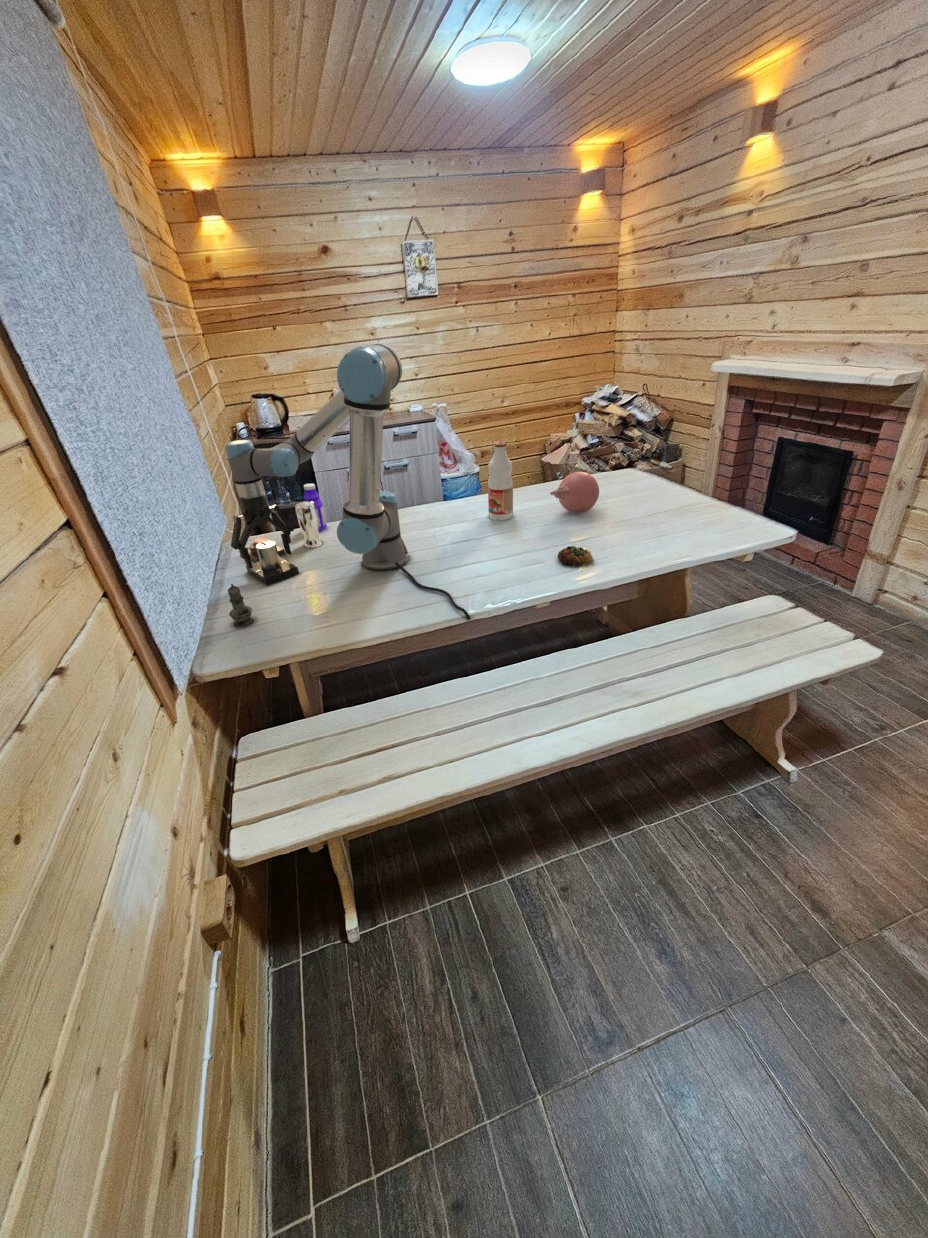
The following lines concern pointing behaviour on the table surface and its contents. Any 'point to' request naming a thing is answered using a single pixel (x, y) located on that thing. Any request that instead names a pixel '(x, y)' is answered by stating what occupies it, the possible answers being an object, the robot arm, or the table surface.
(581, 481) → the balloon
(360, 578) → the table surface
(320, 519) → the bottle
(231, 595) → the grey ringed upright piece
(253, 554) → the box
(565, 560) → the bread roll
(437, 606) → the table surface
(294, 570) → the timer panel
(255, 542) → the button
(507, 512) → the fruit juice
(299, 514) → the beer glass
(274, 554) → the timer dial
